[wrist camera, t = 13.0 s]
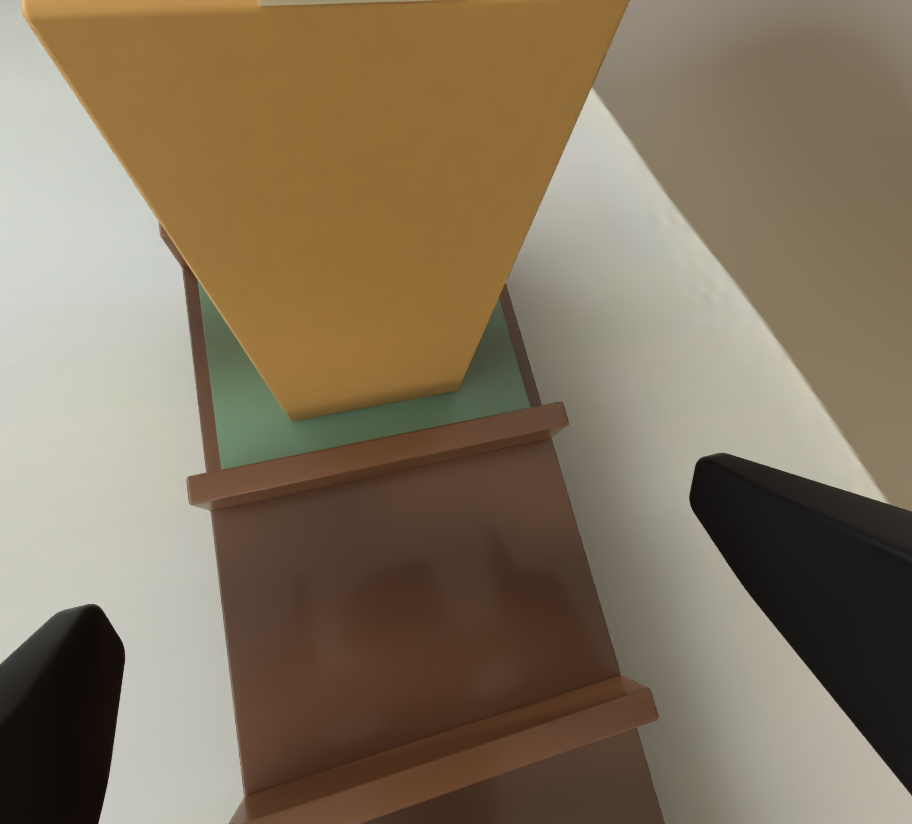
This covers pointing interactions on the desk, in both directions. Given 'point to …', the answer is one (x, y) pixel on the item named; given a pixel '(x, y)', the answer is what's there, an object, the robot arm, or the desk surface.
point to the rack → (411, 602)
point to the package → (339, 164)
